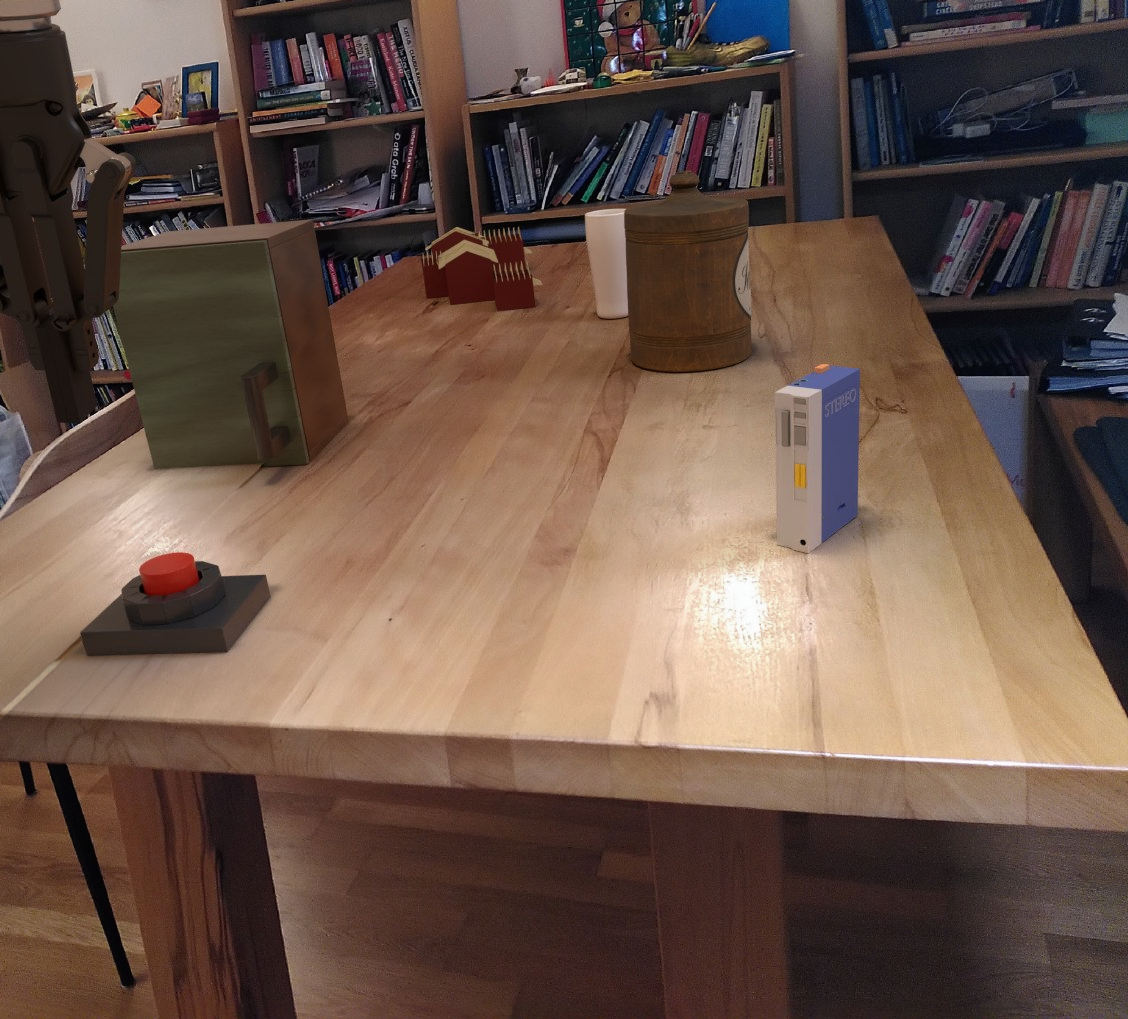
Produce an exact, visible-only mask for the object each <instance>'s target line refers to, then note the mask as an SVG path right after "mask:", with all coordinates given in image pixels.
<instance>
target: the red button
mask: <svg viewBox="0 0 1128 1019" xmlns="http://www.w3.org/2000/svg"><path fill="white" fill-rule="evenodd" d="M195 561H196V560H195V557H194V555H193V554H191V553H189V552H184V551H183V552H182V551H181V552H180V551H177V552H168V553H165V554H161V555H157V556H155V557H152V558H150V559H148V560H146V561H144V562H143V563H142V564H141V565H140V566H139V568H138V572H139V575H140V576H141V579H142V583H143V587H144V591H145V594H146V595H149V596H160V595H169V594H173V593H177V592H181V591H184V590H186V589H188V588H190V587H192V586H194V585H196V584H197V583H198V582H199V576H198V572H197V568H196V564H195Z"/></svg>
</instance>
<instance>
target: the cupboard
mask: <svg viewBox="0 0 1128 1019" xmlns="http://www.w3.org/2000/svg"><path fill="white" fill-rule="evenodd" d="M261 240H267V244H268V249H269V255H270V260H271V265H272V270H273V275H274V280H275V285H276V291H277V296H278V301H279V306H280V311H281V316H282V322H283V327H284V332H285V337H286V342H287V347H288V352H289V358H290V363H291V368H292V373H293V378H294V383H295V389H296V394H297V399H298V404H299V409H300V414H301V419H302V425H303V430H304V435H305V440H306V445H307V450H308V456H309V461H310V462H309V463H311V462H313V460H314V459H315V458H316V457H317V456H318V455H319V454H320V453H321V452H322V451H323V450H324V449H325V448H326V446H328V444H329V443H330V442H331V441H332V440H334V438H335V437H336V436H337V435H338V434H339V433H340V431H342V430H343V429H344V428H345V426H346V425H347V424H349V423H350V422H349V415H348V410H347V404H346V399H345V393H344V388H343V381H342V377H341V370H340V365H339V359H338V353H337V347H336V341H335V337H334V336H335V335H334V331H333V324H332V320H331V315H330V314H331V313H330V308H329V301H328V296H327V291H326V285H325V280H324V274H323V267H322V264H321V263H322V262H321V257H320V252H319V245H318V240H317V233H316V229H315V223H314V219H302V220H301V219H300V220H291V221H277V222H267V223H266V222H265V223H254V224H240V225H230V226H219V227H218V226H217V227H207V228H204V227H203V228H193V229H181V230H170V231H169V230H168V231H165V232H161V233H158V234H155V235H151V236H149V237H145V238H142V239H140V240H136V241H132V242H130V243H126V244H123V245H122V247H121V252H125V251H138V250H150V249H162V248H175V247H187V246H199V245H211V244H224V243H236V242H248V241H261Z"/></svg>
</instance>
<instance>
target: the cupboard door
mask: <svg viewBox="0 0 1128 1019" xmlns="http://www.w3.org/2000/svg"><path fill="white" fill-rule="evenodd" d="M112 309H113V312H114V315H115V319H116V324H117V327H118V332H119V335H120V340H121V343H122V347H123V351H124V355H125V359H126V363H127V368H128V371H129V375H130V379H131V383H132V387H133V391H134V394H135V398H136V403H137V406H138V410H139V413H140V417H141V421H142V426H143V430H144V433H145V438H146V441H147V445H148V449H149V455H150V458H151V461H152V465H153V469H154V470H162V469H165V470H166V469H183V468H200V467H201V468H203V467H220V466H223V467H224V466H238V465H239V466H241V465H258V464H261V465H260V466H259V468H266V467H268V468H269V467H285V466H286V467H287V466H304V465H309V463H311V462H310V461H309V456H308V450H307V445H306V440H305V435H304V430H303V425H302V419H301V414H300V409H299V404H298V399H297V394H296V389H295V383H294V378H293V373H292V368H291V363H290V358H289V352H288V347H287V342H286V337H285V332H284V327H283V322H282V316H281V311H280V306H279V301H278V296H277V291H276V285H275V280H274V275H273V270H272V265H271V260H270V255H269V249H268V244H267V240H261V241H248V242H236V243H224V244H211V245H199V246H187V247H175V248H162V249H150V250H138V251H125V252H121V265H120V283H119V299H118V301H117V302H116V304H114V305H113V306H112Z"/></svg>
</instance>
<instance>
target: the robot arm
mask: <svg viewBox="0 0 1128 1019" xmlns="http://www.w3.org/2000/svg"><path fill="white" fill-rule="evenodd" d="M61 9H62V6H61V2H60V0H0V314H3V315H5V316H9V317H11V318H13V319H15V320H16V321H17V322H18V323H19V325H20V327H21V329H22V334H23V338H24V342H25V345H26V348H27V349H26V350H27V354H28V357H29V362H30V364H31V366H32V368H34V370H35V371H44V373H45V376H46V377H45V378H46V380H47V385H48V389H49V393H50V397H51V401H52V405H53V409H54V414H55V418H56V422H57V423H59V424H78V425H79V424H80V425H81V424H82V423H83V421H85V419H86V418H88V416H89V415H90V414H91V413H92V412H93V411H95V409H96V408H97V407H98V402H97V397H96V393H95V388H94V383H93V379H92V375H91V370H93V369H94V367H96V366H97V365H98V364H99V360H100V352H99V348H98V343H97V338H96V334H95V329H94V325H93V319H98V318H101V317H102V316H103V315H104V314H105V313H106V312H107V311H109V310H110V309H111V308H113V305H114V304H116V302H117V301H118V299H119V283H120V265H121V247H122V246H123V245H122V243H123V227H124V209H125V192H126V190H127V188H128V186H129V184H130V183H131V180H132V178H133V175H134V174H135V171H136V169H137V165H138V164H137V160H136V158H135V157H134V156H133V155H132V154H131V153H128V152H120V153H118V154H117V153H115V152H114V151H112V150H111V149H109V148H108V147H106V146H104V144H101V143H100V142H98V141H97V140H96V139H94V138H93V135H92V129H91V127H90V126H89V124H88V122H87V120H85V118H84V117H83V115H82V113H81V111H80V108H79V106H78V100H77V87H76V81H75V76H74V72H73V70H74V69H73V65H72V60H71V55H70V50H69V46H68V41H67V36H66V32H65V31H64V30H62V29H61V26H60V25H58V24H55V23H52V18H51V17H55V16H57V15H58V14H59V12H60V11H61ZM82 162H84V166H85V171H84V175H85V180H86V182H87V183H88V184H91V186H90V188H89V191H88V195H87V201H86V202H87V203H86V225H85V226H86V227H85V251H84V252H85V255H84V259H83V254H82V250H81V245H80V240H79V235H78V231H77V230H78V229H77V225H76V221H75V216H74V212H73V204H74V192H73V188H72V184H71V183H72V181H73V179H74V177H75V176H76V173H77V171H78V169H79V167H80V166H81V164H82ZM40 250H41V251H40ZM44 268H45V269H44ZM46 277H47V278H46ZM53 308H54V312H53V313H52V314H50V311H51V310H52V309H53Z"/></svg>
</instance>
